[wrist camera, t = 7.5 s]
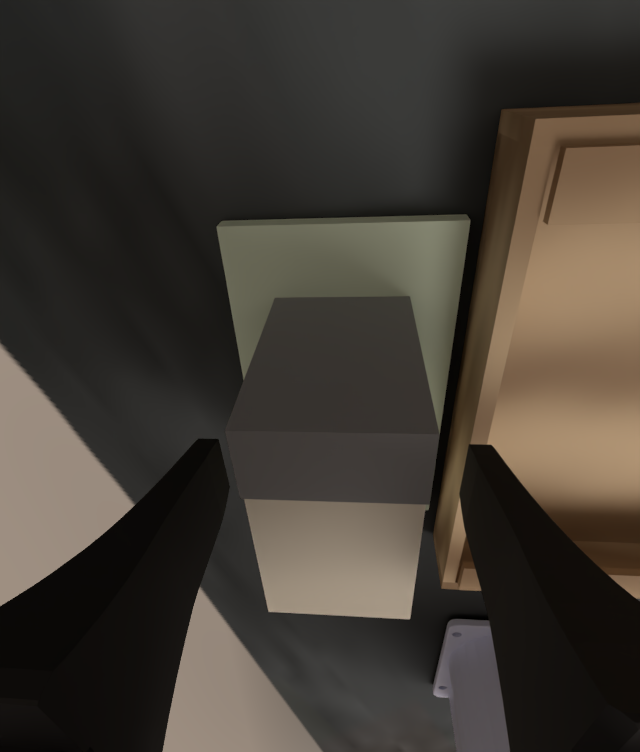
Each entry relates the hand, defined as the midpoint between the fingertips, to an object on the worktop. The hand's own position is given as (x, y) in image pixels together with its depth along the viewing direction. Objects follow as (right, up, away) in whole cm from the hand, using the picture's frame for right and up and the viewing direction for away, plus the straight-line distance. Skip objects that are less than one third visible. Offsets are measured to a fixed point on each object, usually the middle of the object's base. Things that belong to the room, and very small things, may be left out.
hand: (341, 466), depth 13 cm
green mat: (0, +2, +3) cm, 4 cm away
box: (0, +2, +2) cm, 3 cm away
